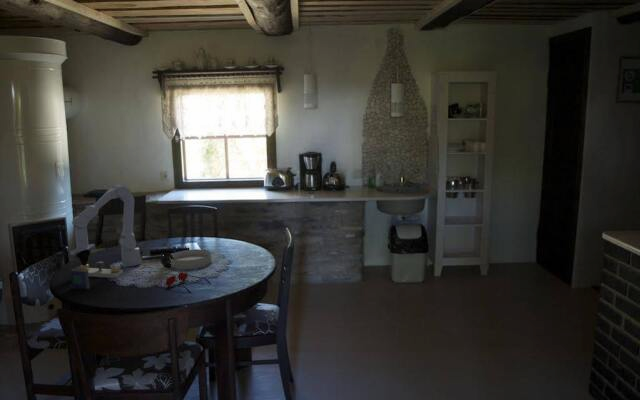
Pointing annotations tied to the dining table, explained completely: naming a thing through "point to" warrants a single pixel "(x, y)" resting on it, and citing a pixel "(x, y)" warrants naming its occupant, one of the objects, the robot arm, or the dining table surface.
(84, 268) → the brass knob
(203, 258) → the dish
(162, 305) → the dining table surface
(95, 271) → the mount board
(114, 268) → the brass knob
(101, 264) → the graphite knob
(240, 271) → the dining table surface
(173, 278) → the glasses
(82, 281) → the flask
